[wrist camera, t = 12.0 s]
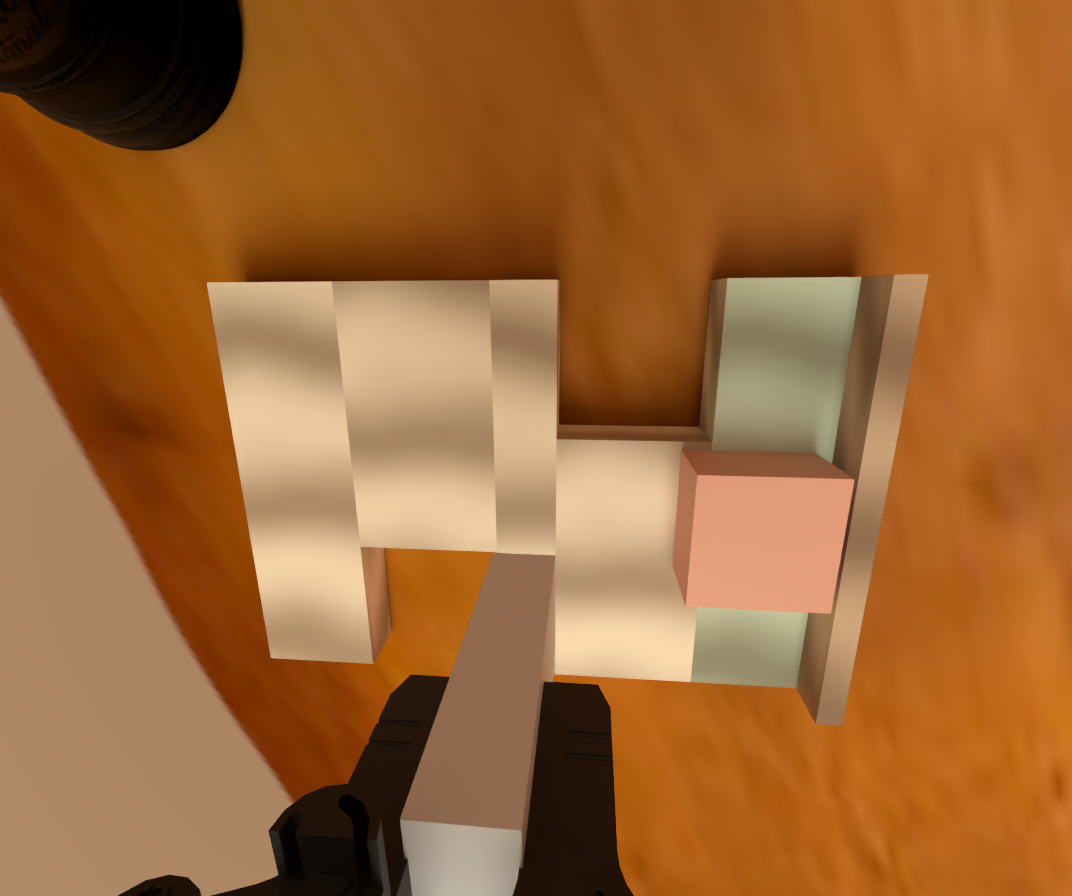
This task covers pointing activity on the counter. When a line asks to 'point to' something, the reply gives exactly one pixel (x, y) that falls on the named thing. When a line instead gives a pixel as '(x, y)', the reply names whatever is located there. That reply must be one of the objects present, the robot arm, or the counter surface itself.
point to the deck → (548, 461)
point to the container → (123, 65)
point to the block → (759, 530)
